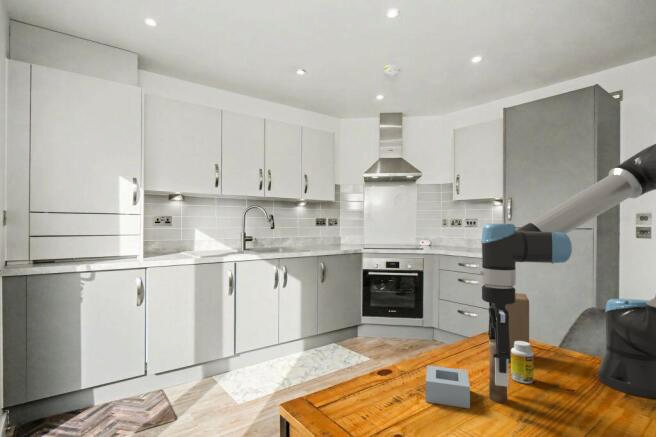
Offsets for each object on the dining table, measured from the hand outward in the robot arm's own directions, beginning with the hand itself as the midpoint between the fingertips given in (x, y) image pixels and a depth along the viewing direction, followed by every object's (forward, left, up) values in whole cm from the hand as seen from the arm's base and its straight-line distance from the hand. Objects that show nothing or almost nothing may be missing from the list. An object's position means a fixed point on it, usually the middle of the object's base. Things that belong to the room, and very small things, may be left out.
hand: (498, 375), depth 88 cm
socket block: (+12, +2, -6) cm, 13 cm away
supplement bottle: (-8, -14, -6) cm, 17 cm away
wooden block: (-8, -32, -6) cm, 34 cm away
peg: (0, 0, -6) cm, 6 cm away
